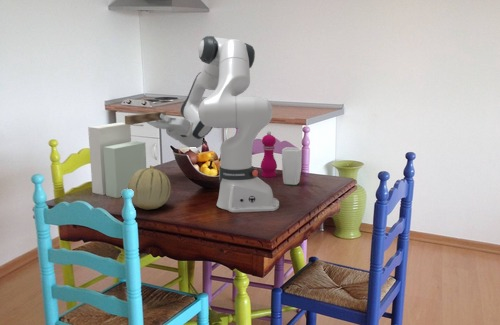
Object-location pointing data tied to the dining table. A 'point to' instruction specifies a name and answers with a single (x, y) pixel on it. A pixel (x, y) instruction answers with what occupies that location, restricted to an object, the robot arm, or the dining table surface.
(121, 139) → the tall stand
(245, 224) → the dining table surface
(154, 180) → the cantaloupe
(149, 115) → the walnut bar
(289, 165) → the cup
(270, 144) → the pepper mill
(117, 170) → the pale green block
